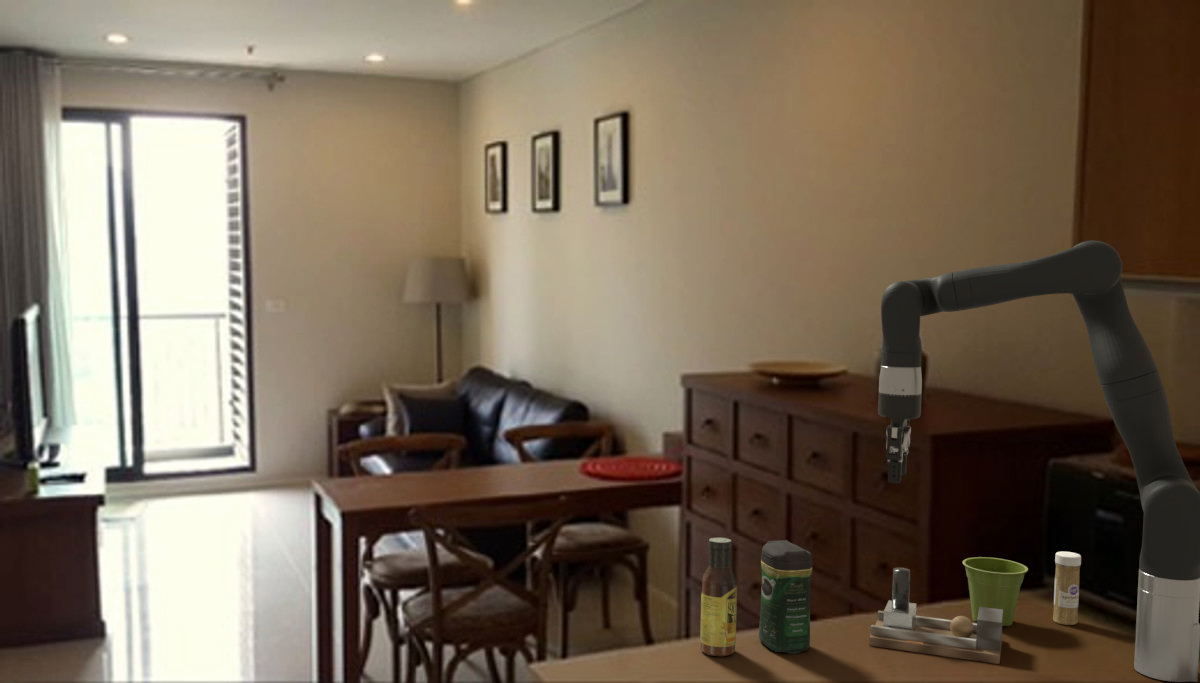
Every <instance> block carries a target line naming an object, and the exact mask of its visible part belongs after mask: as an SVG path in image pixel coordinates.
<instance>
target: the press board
mask: <svg viewBox="0 0 1200 683" xmlns="http://www.w3.org/2000/svg"><path fill="white" fill-rule="evenodd" d="M952 620H953V619H945V618H937V617H930V616H922V615H916V625H915V628H914V631H913V630H906V629H898V628H891V627H884V626H883V621H884V610H878V611H877V620H876V623H875V624H871V625H870V635H869V643H868V645H869V646H872V647H879V648H883V649H884V648H886V649H893V650H898V651H908V652H914V653H919V654H927V655H933V656H942V657H948V658H954V659H962V660H969V661H974V662H975V661H976V662H982V663H990V664H996V665H1000V662H1001V653H1002V643H1003V626H1002V620H1003V610H1002V609H994V608H987V607H979V612H978V618H977V621H976V622H972V623H973V627H974V630H973V633H972V635H971V636H970V637H968V638H964V637H957V636H954V635H953V633H952V632H951V629H950V624H951V621H952Z"/></svg>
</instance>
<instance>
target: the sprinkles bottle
mask: <svg viewBox="0 0 1200 683" xmlns="http://www.w3.org/2000/svg"><path fill="white" fill-rule="evenodd" d="M1054 557H1055V559H1054V562H1055V572H1054V573H1055V575H1054V589H1053V590H1054V591H1053V615H1052V616H1053V617H1052V620H1053V621H1054V623H1056V624H1059V625H1066V626H1073V625H1077V624H1078V623H1079V620H1078V611H1079V610H1078V609H1079V599H1080V597H1079V596H1080V568H1081V564H1082V555H1081V554H1080V553H1077V552H1071V551H1066V550H1065V551H1061V550H1060V551H1057V552H1056V553H1055V556H1054Z"/></svg>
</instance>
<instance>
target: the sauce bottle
mask: <svg viewBox="0 0 1200 683" xmlns="http://www.w3.org/2000/svg"><path fill="white" fill-rule="evenodd" d="M732 548H733V541H732V539H730V538H727V537H711V538H709V540H708V549H709V550H708V551H709V555H708V556H709V557H708V558H709V560H708V564H709V565H708V566H707V568H706V570H705V571H704V573H703V575H702V580H701V585H702V586H701V593H700V594H701V597H700V600H701V601H700V637H699V638H700V639H699V640H700V650H701V652H703V654H706V655H707V656H712V657H726V656H730V655H733V654H734V652H735V649H736V644H737V616H738V615H737V612H738V611H737V609H738V608H737V607H738V606H737V605H738V604H737V602H738V584H737V580H736V577H735V574H734V571H733V568H732V565H731V564H732V561H731V556H732V554H731V552H732Z"/></svg>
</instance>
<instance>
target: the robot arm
mask: <svg viewBox="0 0 1200 683" xmlns="http://www.w3.org/2000/svg"><path fill="white" fill-rule="evenodd" d="M1122 272H1123V261H1122V258H1121V255H1120V254H1119V253H1118V251H1117V250H1116V249H1115V248H1114V247H1113V246H1112V245H1110V244H1108V243H1106V242H1104V241H1101V240H1085V241H1082V242H1080V243H1077V244H1075V245H1074V246H1073V247H1071V248H1067V249H1065V250H1061V251H1059V252H1057V253H1053V254H1050V255H1047V256H1046V255H1045V256H1044V257H1038V258H1034V259H1028V260H1025V261H1019V262H1012V263H1005V264H1003V263H1001V264H995V265H987V266H980V267H973V268H968V269H963V270H961V269H960V270H957V271H953V272H952V271H951V272H947V273H943V274H941V275H939V276H933V277H925V278H918V279H911V280H901V281H896V282H893V283H891V284H889V285H888V286H887V287H886V288H885V289H884V290H883V293H882V295H881V303H880V316H881V318H880V319H881V331H882V343H881V359H880V372H879V378H878V379H879V380H878V382H879V383H878V404H877V405H878V407H877V414H878V415H879V416H880V417H883V418H887V419H890V425H888V426H886V430H885V431H886V432H885V433H886V444H885V447H886V449H885V450H886V455H885V459H886V460H887V463H888V464H887V465H888V466H887V481H888V483H889V484H900V483H901V481H902V476H905V475H906V474H907V456H908V454H909V449H910V444H911V434H912V433H911V432H912V427H911V426H910V423H911V420H914V419H919V418H920V417H921V414H922V388H923V378H922V376H923V375H922V352H923V351H922V349H923V348H922V340H921V337H920V329H921V328H920V326H921V317H924V316H930V315H934V314H939V313H945V312H946V313H949V312H951V313H953V312H960V311H965V310H966V311H968V310H972V309H979V308H983V307H984V308H985V307H988V306H994V305H998V304H1003V303H1006V302H1012V301H1017V300H1020V299H1025V298H1031V297H1036V296H1038V297H1039V296H1045V295H1058V294H1062V295H1063V294H1072V296H1073V298H1074V300H1075V302H1076V306H1077V307H1078V309H1079V312H1080V314H1081V317H1082V318H1083V321H1084V324H1085V328H1086V331H1087V335H1088V340H1089V346H1090V351H1091V356H1092V359H1093V364H1094V367H1095V372H1096V376H1097V379H1098V383H1099V386H1100V389H1101V392H1102V394H1103V397H1104V400H1105V402H1106V406H1107V407H1108V410H1109V413H1110V416H1111V417H1112V419H1113V422H1114V424H1115V427H1116V428H1117V431H1118V432H1119V435H1120V437H1121V438H1122V440H1123V443H1124V444H1125V446H1126V448H1127V450H1128V453H1129V456H1130V458H1131V462H1132V464H1133V468H1134V473H1135V477H1136V482H1137V486H1138V492H1139V497H1140V505H1141V509H1142V511H1143V522H1142V524H1143V525H1142V540H1141V548H1140V549H1141V550H1140V554H1139V562H1138V563H1139V566H1138V567H1139V568H1138V580H1137V581H1138V585H1137V586H1138V587H1137V602H1136V603H1137V605H1136V623H1135V641H1134V642H1135V644H1134V657H1133V658H1134V662H1133V664H1134V667H1133V668H1134V669H1135V671H1136V672H1138V673H1139V674H1142V676H1143V675H1144V676H1145V677H1149V678H1152V679H1155V680H1159V681H1165V682H1170V683H1171V682H1172V683H1173V682H1175V683H1185V682H1192V683H1198V679H1199V661H1200V623H1199V619H1200V617H1199V616H1200V615H1199V614H1200V491H1199V490H1198V488H1197V486H1196V485H1195V484H1194V481H1193V480H1192V478H1191V476H1190V474H1189V473H1188V470H1187V468H1186V466H1185V463H1184V461H1183V459H1182V456H1181V454H1180V453H1179V449H1178V447H1177V444H1176V440H1175V436H1174V429H1173V428H1174V427H1173V423H1172V416H1171V411H1170V410H1171V409H1170V405H1169V401H1168V398H1167V393H1166V389H1165V387H1164V384H1163V381H1162V378H1161V376H1160V373H1159V369H1158V367H1157V364H1156V361H1155V359H1154V357H1153V355H1152V353H1151V350H1150V348H1149V346H1148V345H1147V342H1146V340H1145V338H1144V336H1143V335H1142V333H1141V331H1140V329H1139V328H1138V326H1137V324H1136V322H1135V320H1134V319H1133V316H1132V314H1131V311H1130V308H1129V305H1128V301H1127V297H1126V292H1125V290H1124V285H1123V280H1122V276H1121V275H1122Z"/></svg>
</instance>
